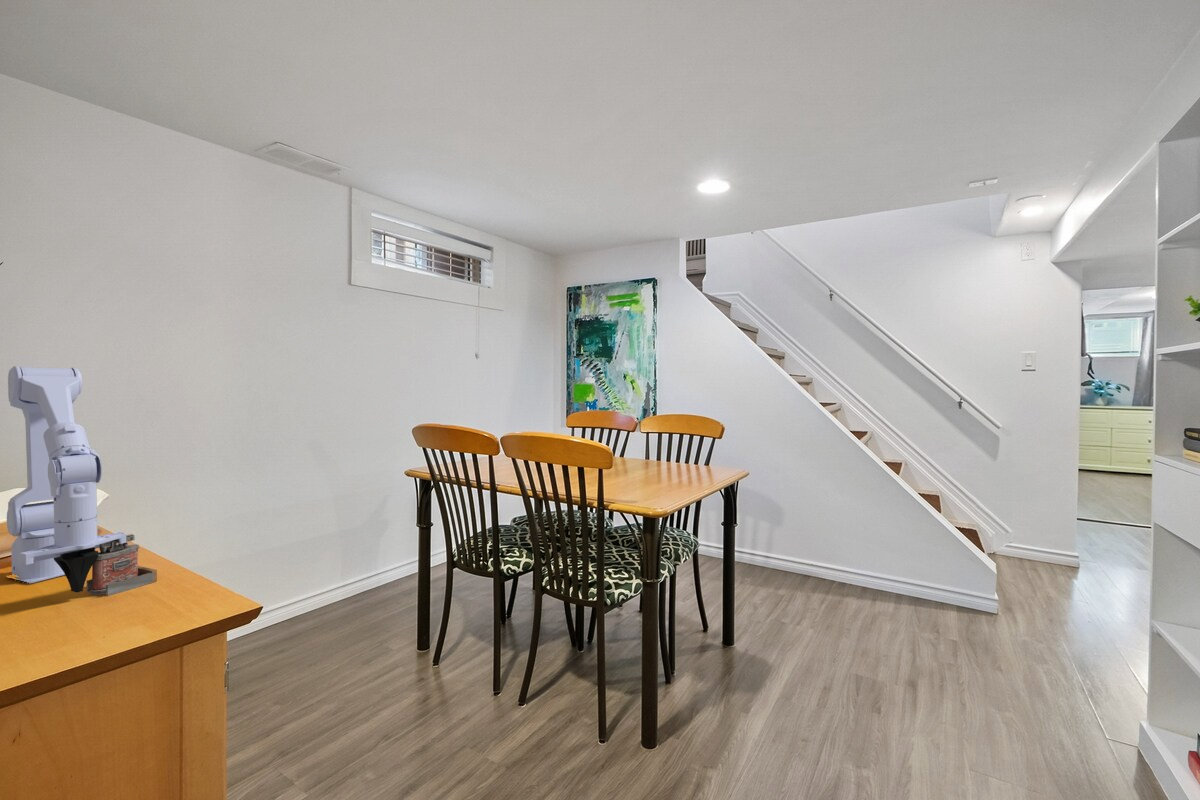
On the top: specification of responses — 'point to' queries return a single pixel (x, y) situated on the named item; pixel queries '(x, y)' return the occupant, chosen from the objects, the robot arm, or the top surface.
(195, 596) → the top surface
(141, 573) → the keeper
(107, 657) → the top surface
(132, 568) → the lighter
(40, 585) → the top surface
